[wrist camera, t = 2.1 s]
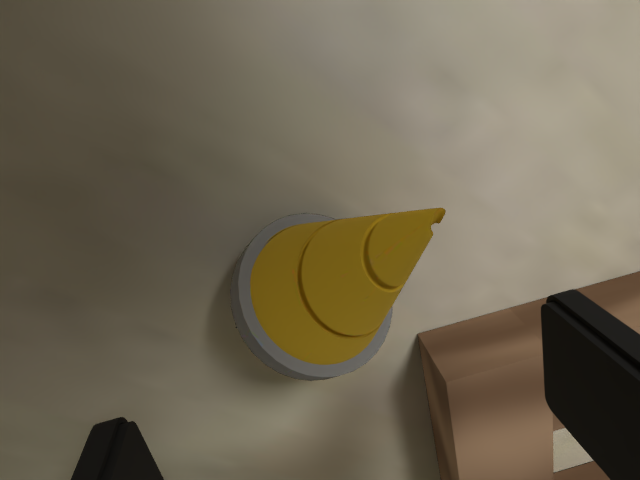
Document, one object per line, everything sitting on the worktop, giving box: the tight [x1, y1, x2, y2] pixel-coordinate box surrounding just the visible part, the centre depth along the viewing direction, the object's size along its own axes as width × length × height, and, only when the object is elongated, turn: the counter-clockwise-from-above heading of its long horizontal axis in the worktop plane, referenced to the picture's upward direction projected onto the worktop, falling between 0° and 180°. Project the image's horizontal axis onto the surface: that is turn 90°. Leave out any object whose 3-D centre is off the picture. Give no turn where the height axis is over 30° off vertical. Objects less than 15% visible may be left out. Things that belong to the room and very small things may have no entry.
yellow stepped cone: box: [230, 208, 445, 381], centre depth 14 cm, size 5×5×10 cm
